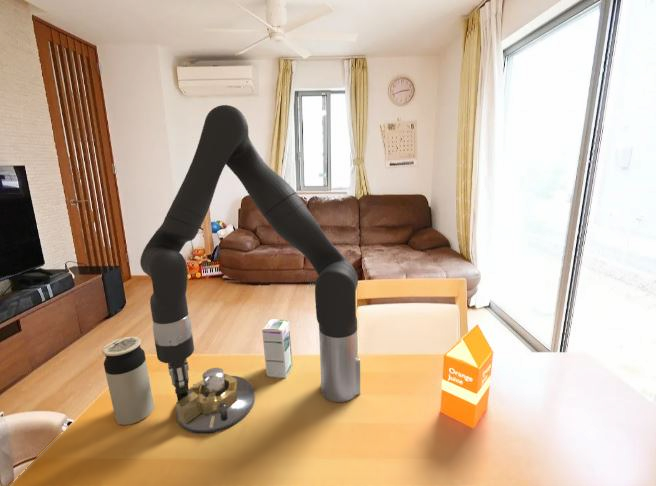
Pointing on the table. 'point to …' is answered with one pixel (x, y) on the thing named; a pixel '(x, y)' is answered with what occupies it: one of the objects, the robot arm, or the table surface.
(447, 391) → the orange juice
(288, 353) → the syrup box
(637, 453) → the table surface
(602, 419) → the table surface
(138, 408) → the travel mug
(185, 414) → the ring nut
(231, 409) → the cap plate
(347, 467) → the table surface
